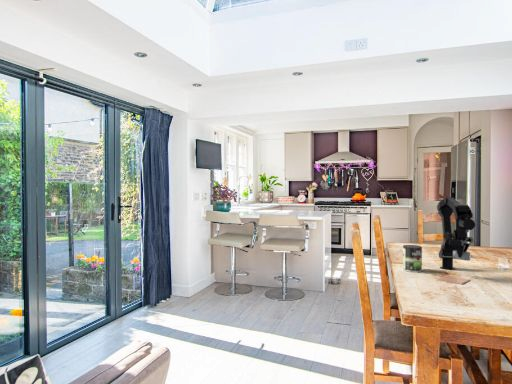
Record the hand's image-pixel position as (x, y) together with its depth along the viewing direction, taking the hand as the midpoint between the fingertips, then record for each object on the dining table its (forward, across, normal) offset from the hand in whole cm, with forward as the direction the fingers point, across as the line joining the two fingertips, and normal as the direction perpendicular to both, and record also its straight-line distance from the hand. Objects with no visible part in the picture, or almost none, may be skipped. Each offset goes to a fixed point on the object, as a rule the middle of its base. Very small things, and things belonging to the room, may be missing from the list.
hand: (461, 256), depth 198 cm
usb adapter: (+1, 0, 0) cm, 1 cm away
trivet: (+11, +11, 0) cm, 15 cm away
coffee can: (+11, +4, -25) cm, 28 cm away
